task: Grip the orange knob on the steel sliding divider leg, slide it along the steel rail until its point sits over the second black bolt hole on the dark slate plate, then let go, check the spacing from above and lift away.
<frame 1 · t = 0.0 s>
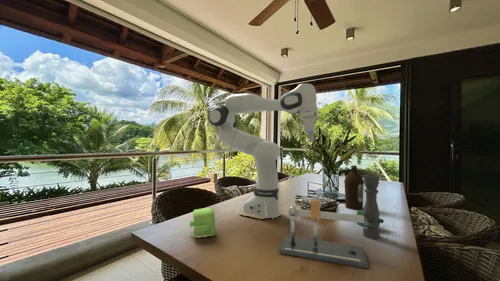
hand: (312, 142, 115), 39 cm above the table, tool pointing down, fingers open, 8 cm apart
candle holder: (371, 236, 95), on the table
divider leg: (315, 223, 82), point 10 cm above the table, slide at 0.0 cm
dividers frame: (292, 247, 84), resting on bolt plate
olive oil: (354, 207, 136), on the table
clamp: (369, 227, 106), on the table
gearbox: (202, 233, 98), on the table
bolt plate: (321, 252, 81), on the table
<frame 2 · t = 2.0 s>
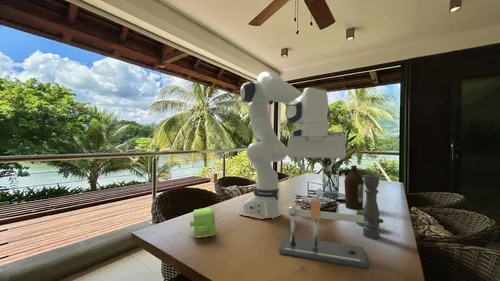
hand: (315, 170, 82), 29 cm above the table, tool pointing down, fingers open, 8 cm apart
nothing on the table moved.
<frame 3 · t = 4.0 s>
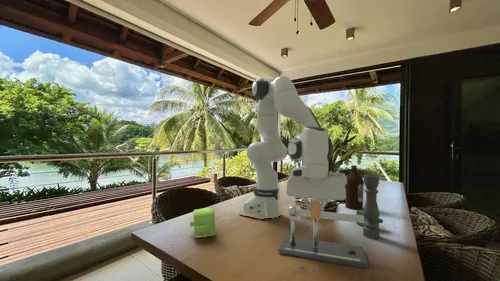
hand: (315, 210, 81), 15 cm above the table, tool pointing down, fingers closed on divider leg, 3 cm apart
divider leg: (315, 223, 82), point 10 cm above the table, slide at 0.0 cm, touching gripper
everything else where it was.
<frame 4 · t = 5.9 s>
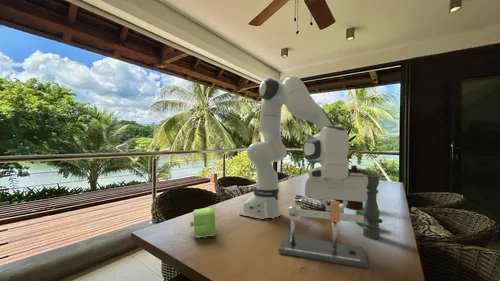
hand: (334, 211, 79), 15 cm above the table, tool pointing down, fingers closed on divider leg, 3 cm apart
divider leg: (334, 225, 79), point 10 cm above the table, slide at 6.5 cm, touching gripper
everything else where it was.
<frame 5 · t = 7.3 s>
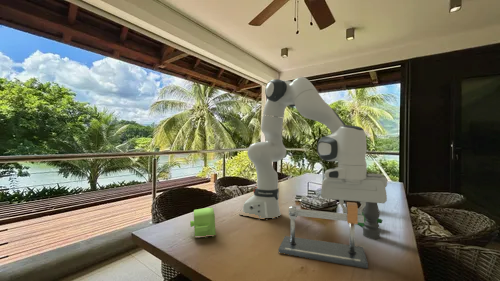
hand: (352, 213, 77), 15 cm above the table, tool pointing down, fingers closed on divider leg, 3 cm apart
divider leg: (352, 227, 78), point 10 cm above the table, slide at 12.0 cm, touching gripper
everything else where it was.
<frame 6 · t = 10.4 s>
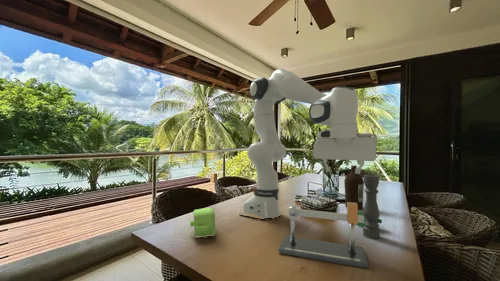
hand: (342, 172, 79), 28 cm above the table, tool pointing down, fingers open, 8 cm apart
divider leg: (352, 227, 78), point 10 cm above the table, slide at 12.0 cm
everything else where it was.
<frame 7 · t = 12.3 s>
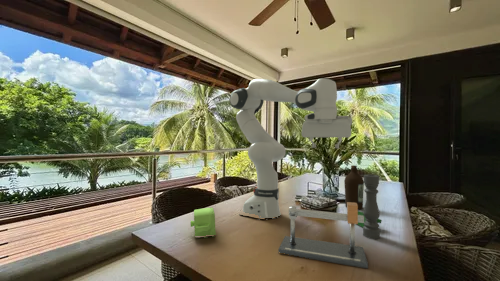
hand: (325, 148, 99), 36 cm above the table, tool pointing down, fingers open, 8 cm apart
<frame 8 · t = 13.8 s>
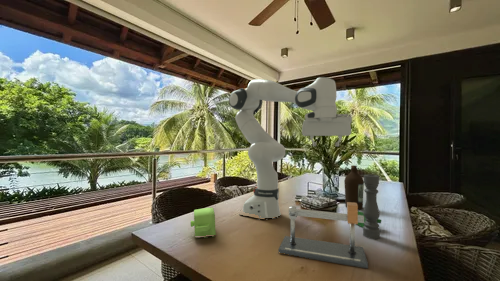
hand: (325, 146, 99), 37 cm above the table, tool pointing down, fingers open, 8 cm apart
at the end: divider leg slide at 12.0 cm; the gripper is holding nothing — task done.
